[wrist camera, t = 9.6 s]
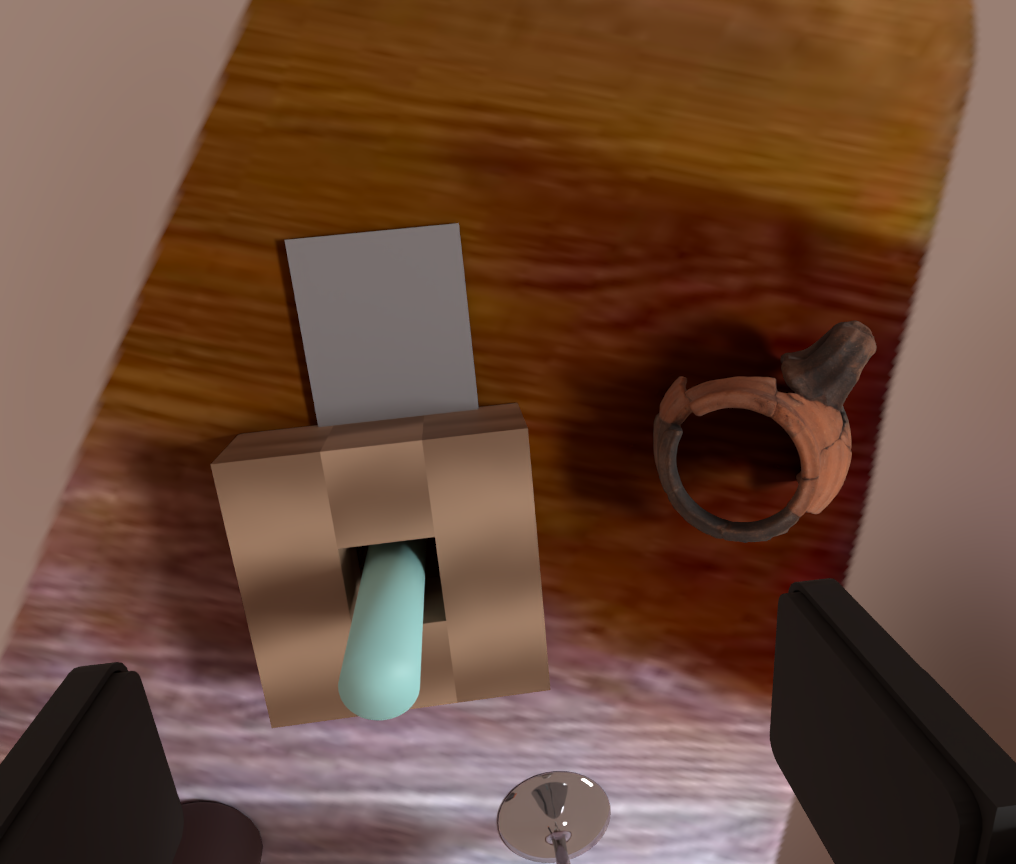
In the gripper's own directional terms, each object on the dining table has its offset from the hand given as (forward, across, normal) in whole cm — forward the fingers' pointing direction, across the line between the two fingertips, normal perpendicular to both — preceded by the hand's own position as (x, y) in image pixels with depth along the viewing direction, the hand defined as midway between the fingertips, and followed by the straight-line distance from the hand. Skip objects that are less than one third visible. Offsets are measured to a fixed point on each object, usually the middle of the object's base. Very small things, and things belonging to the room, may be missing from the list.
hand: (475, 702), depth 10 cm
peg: (+25, +4, +11) cm, 28 cm away
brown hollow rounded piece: (+26, -15, +6) cm, 31 cm away
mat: (+26, +3, 0) cm, 26 cm away
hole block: (+25, +4, +11) cm, 28 cm away
